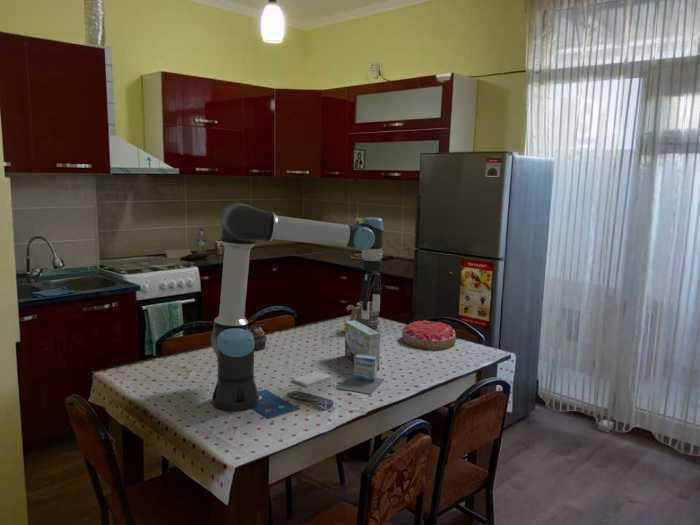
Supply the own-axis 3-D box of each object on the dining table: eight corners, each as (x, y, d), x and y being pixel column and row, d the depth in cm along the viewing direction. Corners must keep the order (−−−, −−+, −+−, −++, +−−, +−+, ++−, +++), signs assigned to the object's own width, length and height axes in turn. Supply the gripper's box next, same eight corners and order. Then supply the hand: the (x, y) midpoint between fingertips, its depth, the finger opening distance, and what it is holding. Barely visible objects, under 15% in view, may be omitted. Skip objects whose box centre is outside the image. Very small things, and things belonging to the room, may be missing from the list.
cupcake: (262, 352, 237) (263, 329, 235) (241, 350, 238) (241, 327, 237) (269, 345, 246) (269, 323, 245) (248, 344, 248) (248, 322, 246)
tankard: (367, 326, 283) (368, 297, 280) (384, 332, 273) (386, 302, 271) (336, 332, 270) (337, 302, 268) (353, 339, 260) (354, 307, 258)
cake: (427, 329, 277) (428, 314, 276) (467, 343, 258) (468, 327, 257) (391, 340, 262) (391, 324, 260) (430, 356, 243) (431, 339, 241)
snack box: (343, 355, 235) (344, 321, 233) (355, 354, 238) (356, 319, 236) (367, 371, 217) (369, 334, 215) (380, 369, 219) (381, 332, 217)
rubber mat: (370, 394, 194) (370, 393, 194) (336, 388, 198) (336, 387, 198) (384, 379, 208) (384, 378, 208) (351, 374, 213) (351, 373, 213)
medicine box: (353, 379, 207) (354, 357, 205) (356, 375, 211) (357, 353, 210) (374, 382, 205) (375, 359, 204) (376, 378, 209) (377, 355, 208)
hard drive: (315, 370, 213) (291, 378, 204) (331, 375, 208) (307, 384, 199) (315, 374, 213) (291, 382, 204) (331, 380, 208) (306, 388, 199)
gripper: (371, 264, 195) (370, 323, 198) (390, 255, 218) (389, 308, 221) (351, 263, 197) (350, 321, 201) (372, 254, 221) (371, 306, 224)
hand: (370, 314), depth 211 cm, fingers open, 13 cm apart
